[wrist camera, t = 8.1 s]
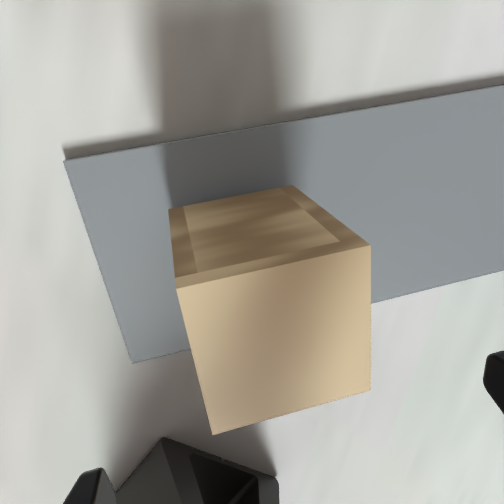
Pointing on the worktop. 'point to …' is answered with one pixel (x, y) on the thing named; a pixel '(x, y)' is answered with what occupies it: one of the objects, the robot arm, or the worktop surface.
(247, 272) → the wooden block
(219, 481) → the phone stand
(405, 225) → the board
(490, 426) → the worktop surface
